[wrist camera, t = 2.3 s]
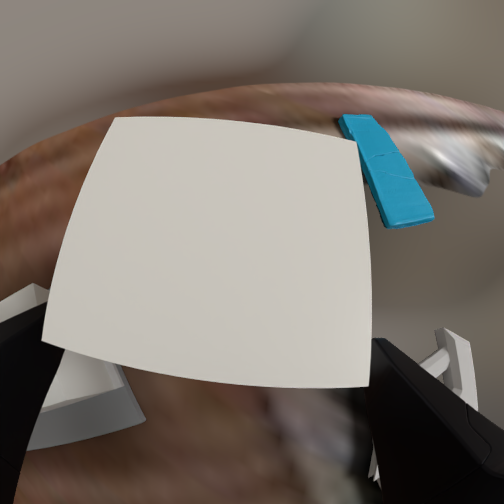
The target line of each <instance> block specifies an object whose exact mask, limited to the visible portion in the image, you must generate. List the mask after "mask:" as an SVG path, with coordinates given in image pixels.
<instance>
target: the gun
mask: <svg viewBox="0 0 504 504" xmlns="http://www.w3.org/2000/svg"><path fill="white" fill-rule="evenodd" d="M435 335H436V340H437V345H438V350H436V351H435V352H434V353H432V354H431V355H430V356H428V357H427V358H425V359H424V360H423V361H421V362H420V363H418V364H419V365H420V366H421V367H422V368H424V369H425V370H426V371H427V372H429V373H430V374H431V375H433V376H434V377H435V378H437V377H438V376H439V375H440V374H441V373H442V374H443V380H444V385H445V386H446V387H448V388H449V389H450V390H451V391H453V392H454V393H455V394H456V395H458V396H459V397H460V398H461V399H463V400H464V401H465V402H466V403H468V404H469V405H470V406H471V407H473V408H474V409H475V410H476V411H478V404H477V393H476V382H475V374H474V367H473V360H472V354H471V348H470V343H469V342H468V341H466V340H465V339H463V338H461V337H460V336H458V335H456V334H454V333H453V332H450V331H449V330H447V329H446V328H444V327H443V328H440V329H436V330H435ZM372 440H373V439H372ZM372 475H374V479H373V481H375V480H376V479H377V482H378V484H379V486H380V488H381V484H380V478H379V472H378V466H377V460H376V455H375V449H374V444H373V453H372V459H371V464H370V469H369V474H368V478H369V477H371V476H372Z"/></svg>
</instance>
